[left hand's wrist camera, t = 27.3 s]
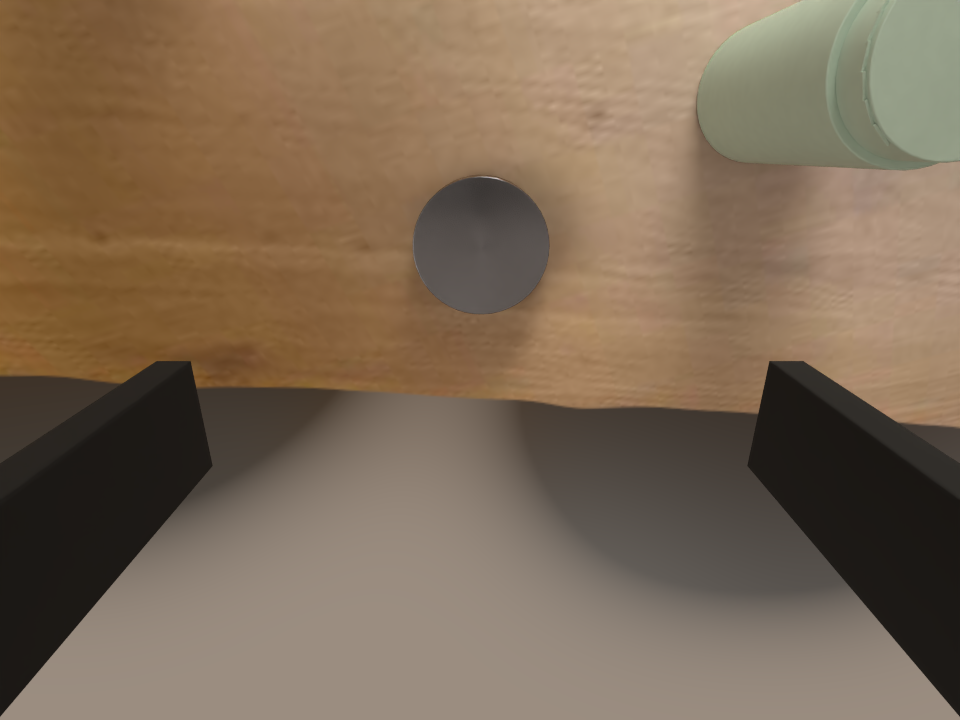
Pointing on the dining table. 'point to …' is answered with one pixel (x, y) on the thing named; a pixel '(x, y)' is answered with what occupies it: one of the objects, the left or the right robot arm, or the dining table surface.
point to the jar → (839, 86)
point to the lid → (481, 244)
